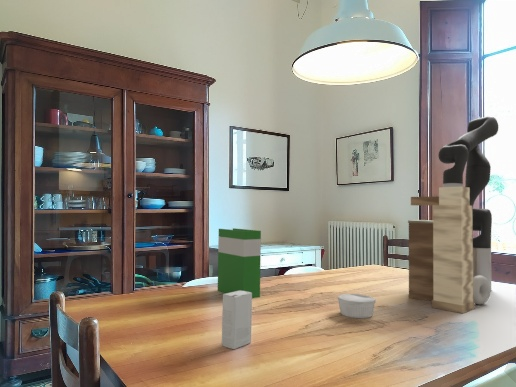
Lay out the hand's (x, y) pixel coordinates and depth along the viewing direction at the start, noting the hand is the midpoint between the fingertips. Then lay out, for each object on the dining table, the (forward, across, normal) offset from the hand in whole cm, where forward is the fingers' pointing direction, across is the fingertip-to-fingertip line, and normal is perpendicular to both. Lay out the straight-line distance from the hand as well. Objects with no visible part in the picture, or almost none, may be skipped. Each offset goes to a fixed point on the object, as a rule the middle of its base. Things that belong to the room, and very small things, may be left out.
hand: (451, 236), depth 153 cm
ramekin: (+25, 0, +54) cm, 60 cm away
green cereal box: (+26, +43, +70) cm, 86 cm away
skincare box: (+27, -3, +100) cm, 103 cm away
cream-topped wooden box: (+23, +2, +12) cm, 26 cm away
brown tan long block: (-11, -7, +23) cm, 27 cm away
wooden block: (+23, -12, +21) cm, 33 cm away
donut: (+23, -14, +8) cm, 28 cm away
